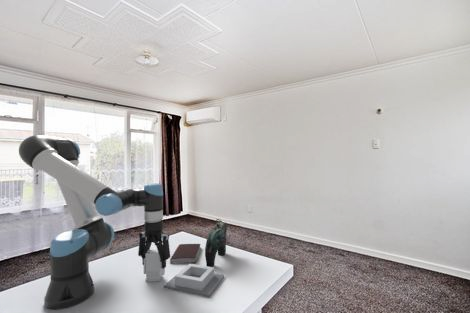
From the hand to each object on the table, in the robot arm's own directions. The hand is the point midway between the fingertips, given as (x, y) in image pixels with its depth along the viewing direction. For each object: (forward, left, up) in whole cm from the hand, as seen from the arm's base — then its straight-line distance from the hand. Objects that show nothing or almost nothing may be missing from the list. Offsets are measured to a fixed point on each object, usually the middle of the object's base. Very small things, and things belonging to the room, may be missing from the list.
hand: (154, 273), depth 99 cm
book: (0, +26, -3) cm, 26 cm away
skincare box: (0, 0, -2) cm, 2 cm away
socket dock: (+18, +3, -2) cm, 18 cm away
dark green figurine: (+18, +26, -3) cm, 32 cm away
